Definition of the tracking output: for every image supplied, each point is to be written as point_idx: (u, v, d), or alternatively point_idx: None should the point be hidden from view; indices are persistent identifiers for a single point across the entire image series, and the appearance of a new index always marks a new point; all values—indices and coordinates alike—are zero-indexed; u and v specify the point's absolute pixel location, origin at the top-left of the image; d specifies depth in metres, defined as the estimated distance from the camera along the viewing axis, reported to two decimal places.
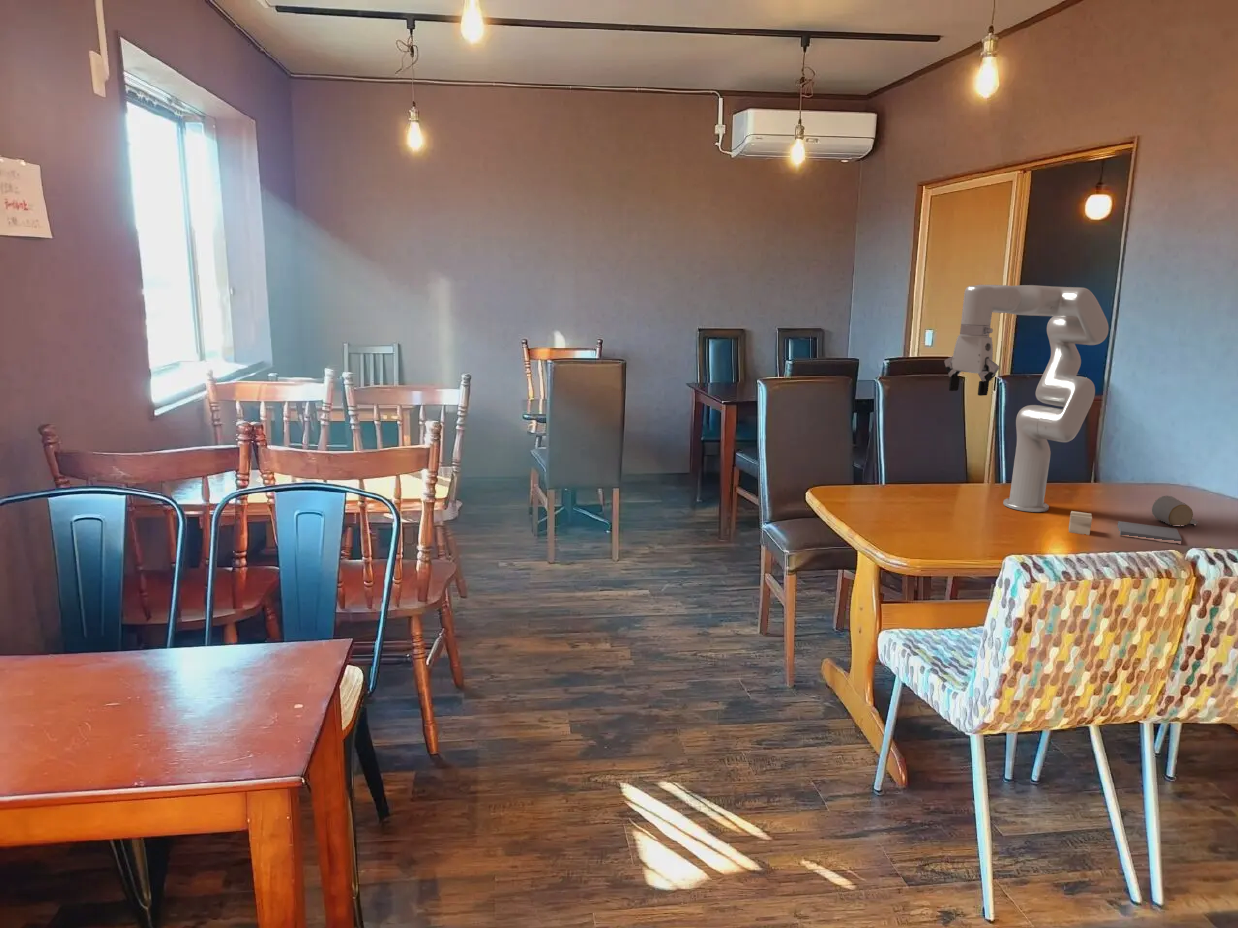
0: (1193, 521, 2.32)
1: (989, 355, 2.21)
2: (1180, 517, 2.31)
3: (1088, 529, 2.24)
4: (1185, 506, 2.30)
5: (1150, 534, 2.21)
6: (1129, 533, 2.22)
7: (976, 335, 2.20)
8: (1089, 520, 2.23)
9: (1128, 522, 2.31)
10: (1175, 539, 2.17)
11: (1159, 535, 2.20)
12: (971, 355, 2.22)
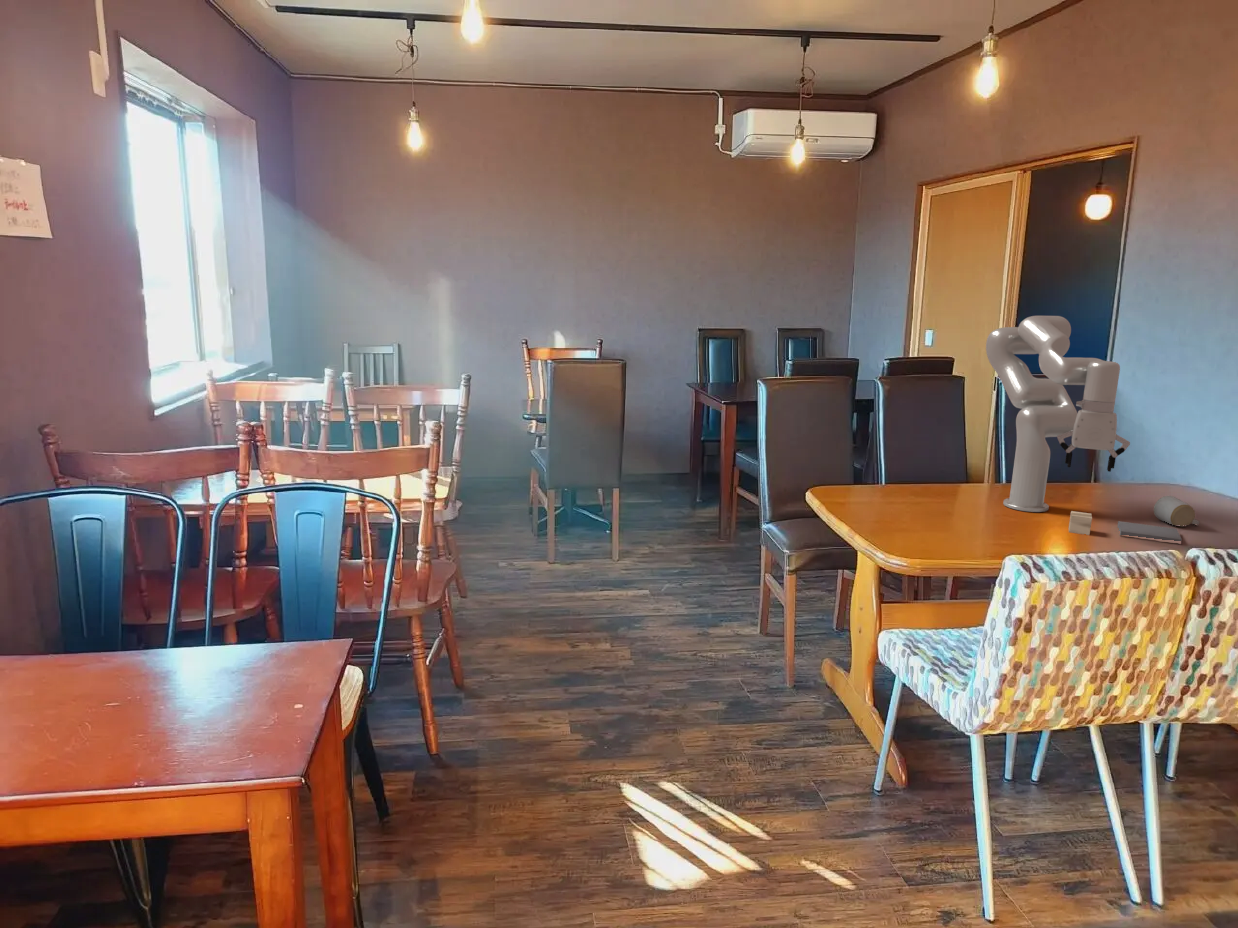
0: (1195, 521, 2.32)
1: (1073, 428, 2.22)
2: (1182, 517, 2.31)
3: (1088, 529, 2.24)
4: (1187, 506, 2.30)
5: (1150, 534, 2.21)
6: (1129, 533, 2.22)
7: None
8: (1089, 520, 2.23)
9: (1128, 522, 2.31)
10: (1175, 539, 2.17)
11: (1159, 535, 2.20)
12: None
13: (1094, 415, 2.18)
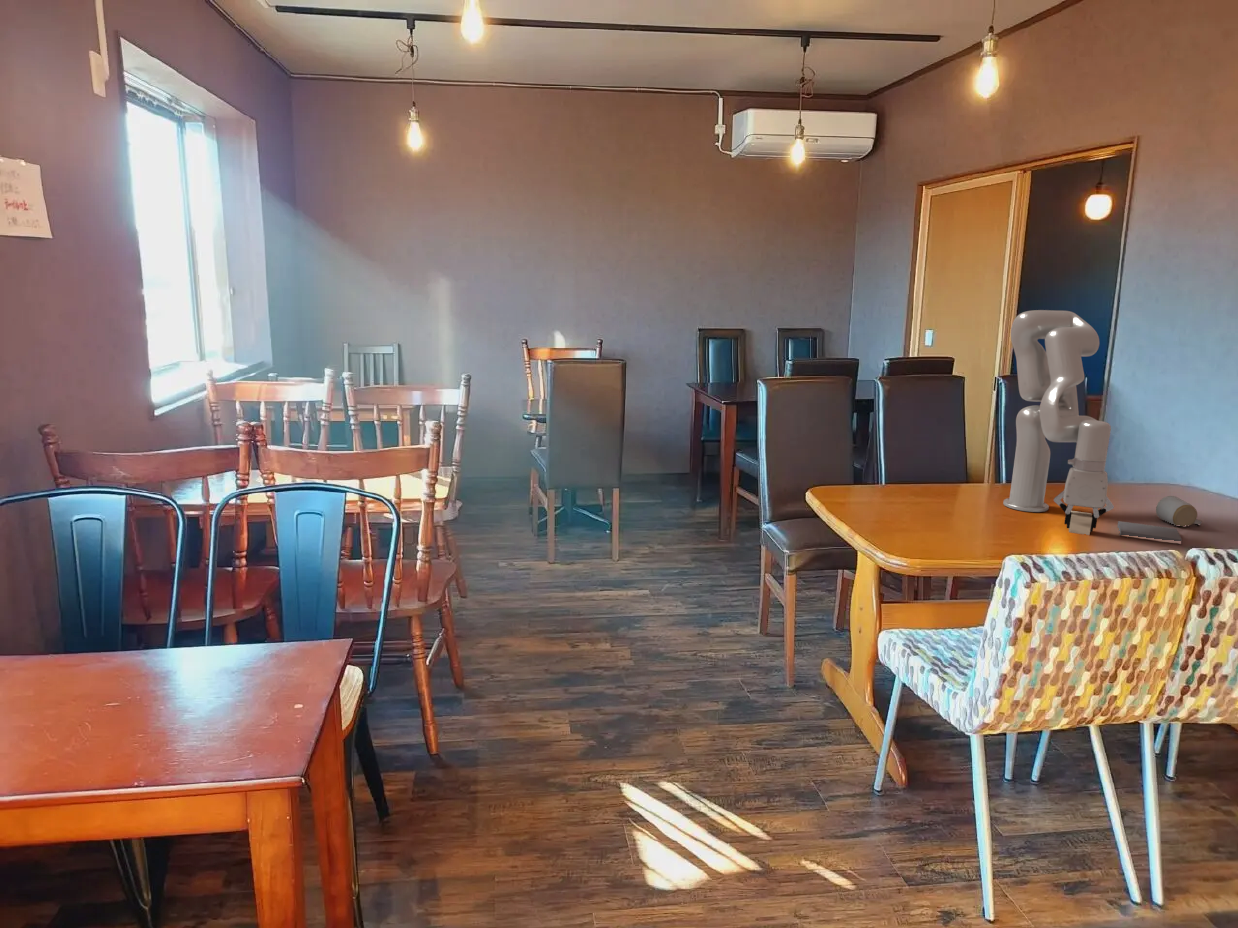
0: (1197, 521, 2.32)
1: (1065, 485, 2.26)
2: (1185, 517, 2.31)
3: (1088, 529, 2.24)
4: (1189, 506, 2.30)
5: (1150, 534, 2.21)
6: (1129, 533, 2.22)
7: None
8: (1089, 520, 2.23)
9: (1128, 522, 2.31)
10: (1175, 539, 2.17)
11: (1159, 535, 2.20)
12: None
13: (1085, 474, 2.21)
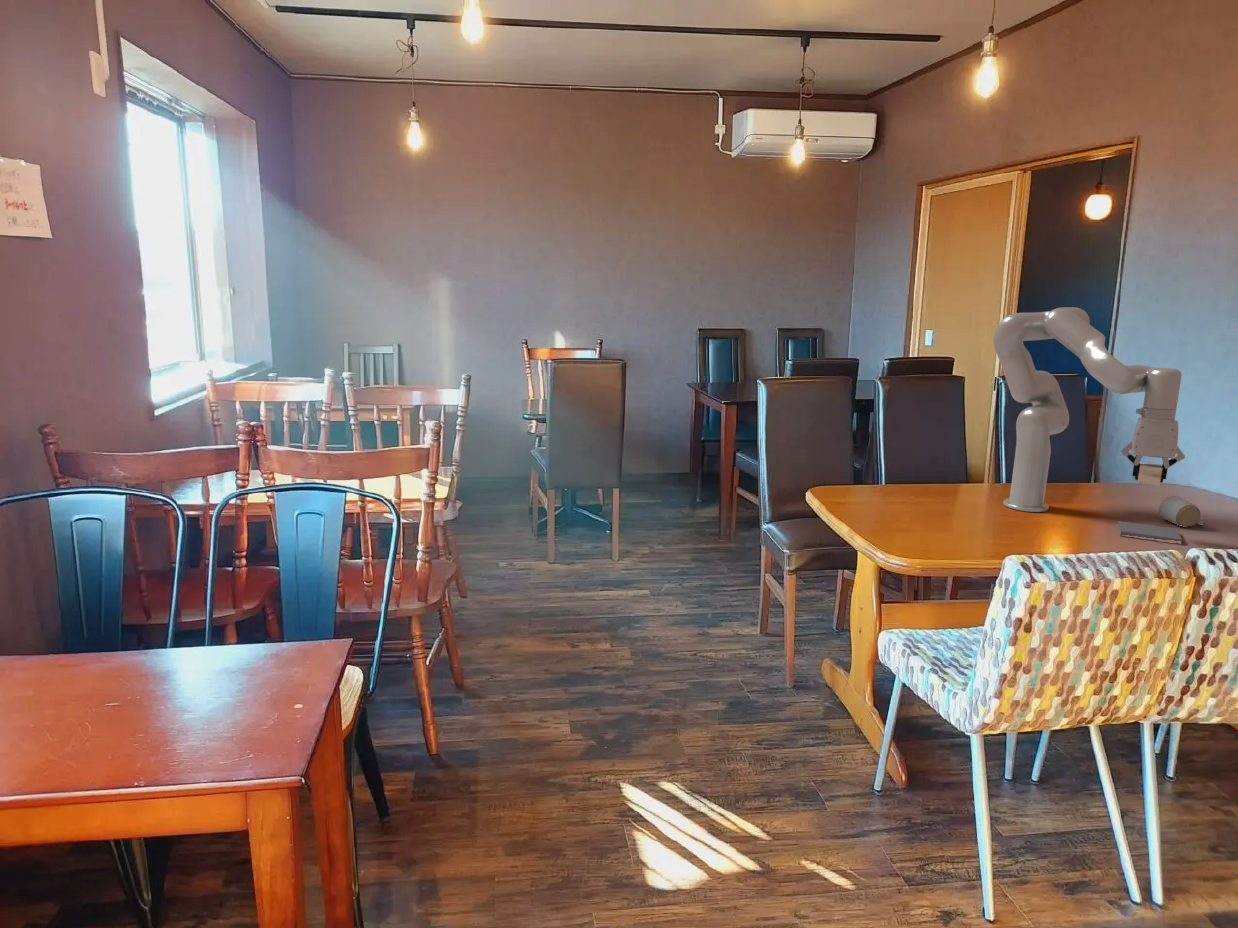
0: (1200, 521, 2.32)
1: (1133, 435, 2.20)
2: (1188, 517, 2.31)
3: (1158, 480, 2.18)
4: (1192, 506, 2.30)
5: (1150, 534, 2.21)
6: (1129, 533, 2.22)
7: None
8: (1159, 471, 2.17)
9: (1128, 522, 2.31)
10: (1175, 539, 2.17)
11: (1159, 535, 2.20)
12: None
13: (1155, 423, 2.16)
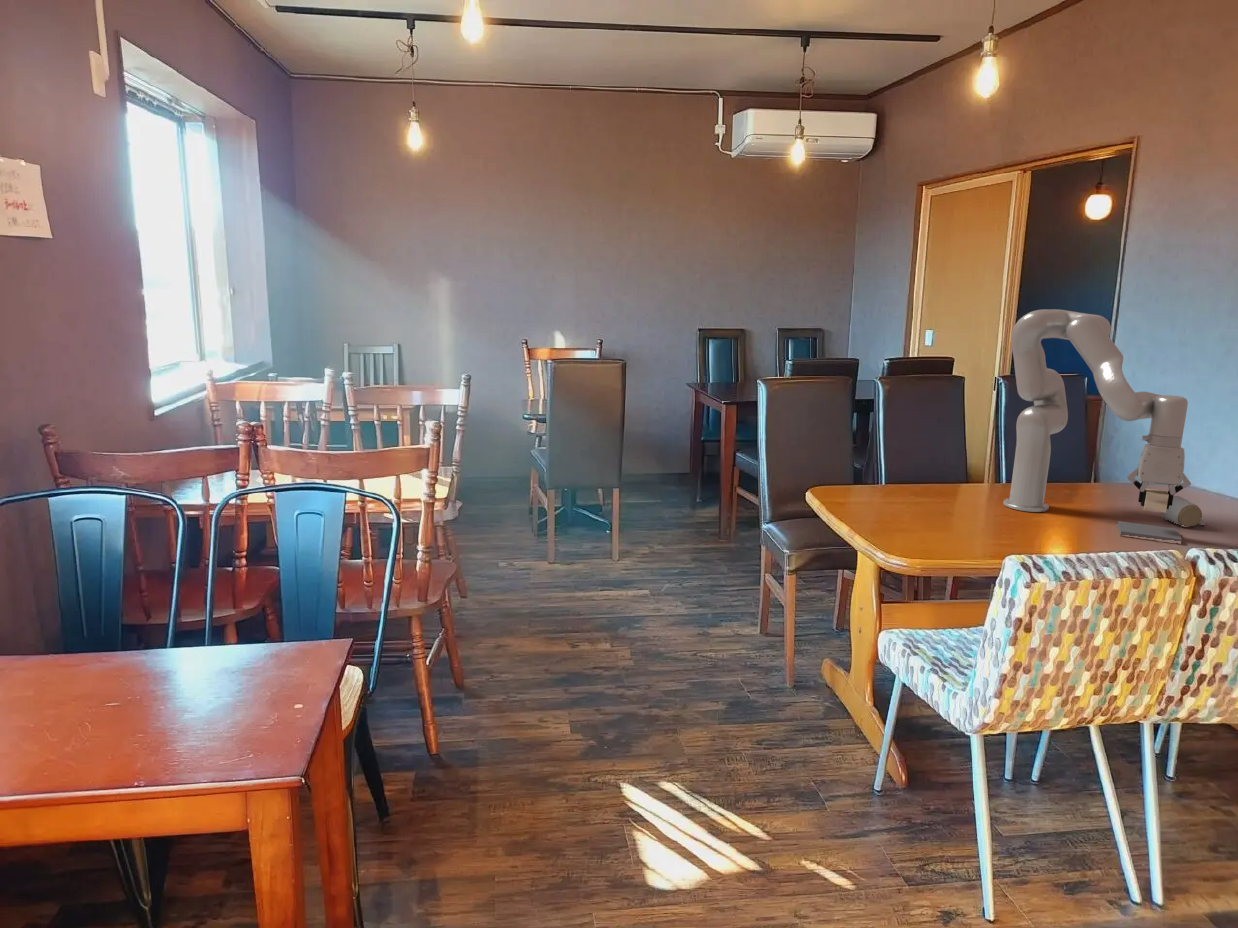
0: (1202, 521, 2.32)
1: (1139, 462, 2.22)
2: (1189, 517, 2.31)
3: (1164, 506, 2.19)
4: (1194, 506, 2.30)
5: (1150, 534, 2.21)
6: (1129, 533, 2.22)
7: None
8: (1166, 497, 2.19)
9: (1128, 522, 2.31)
10: (1175, 539, 2.17)
11: (1159, 535, 2.20)
12: None
13: (1161, 450, 2.17)
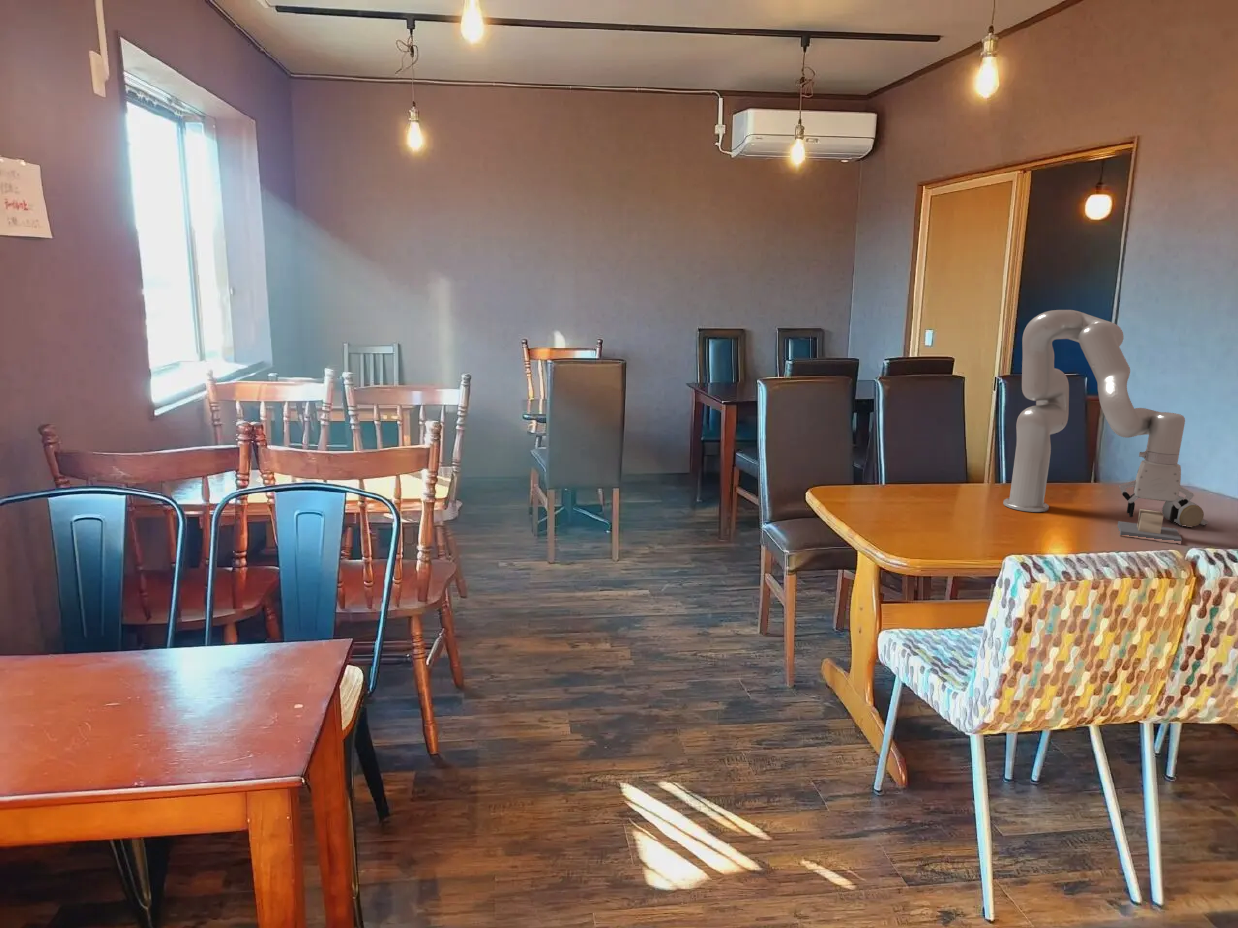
0: (1204, 521, 2.32)
1: (1136, 478, 2.23)
2: (1191, 518, 2.31)
3: (1159, 527, 2.21)
4: (1196, 506, 2.30)
5: (1150, 534, 2.21)
6: (1129, 533, 2.22)
7: None
8: (1160, 519, 2.21)
9: (1128, 522, 2.31)
10: (1175, 539, 2.17)
11: (1159, 535, 2.20)
12: None
13: (1158, 467, 2.18)
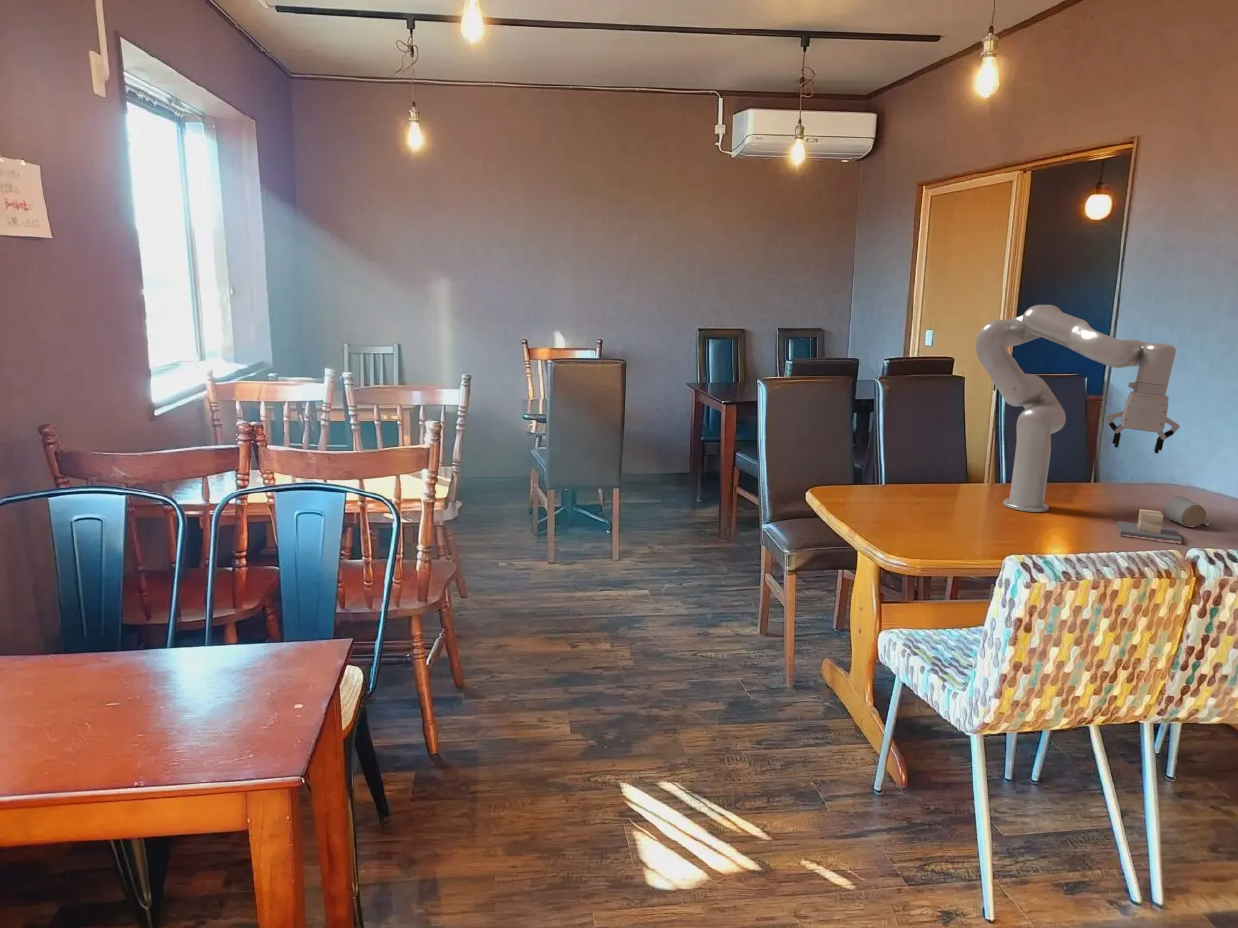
0: (1206, 521, 2.32)
1: (1124, 408, 2.25)
2: (1194, 518, 2.31)
3: (1159, 527, 2.21)
4: (1198, 506, 2.30)
5: (1150, 534, 2.21)
6: (1129, 533, 2.22)
7: None
8: (1160, 519, 2.21)
9: (1128, 522, 2.31)
10: (1175, 539, 2.17)
11: (1159, 535, 2.20)
12: None
13: (1146, 397, 2.20)
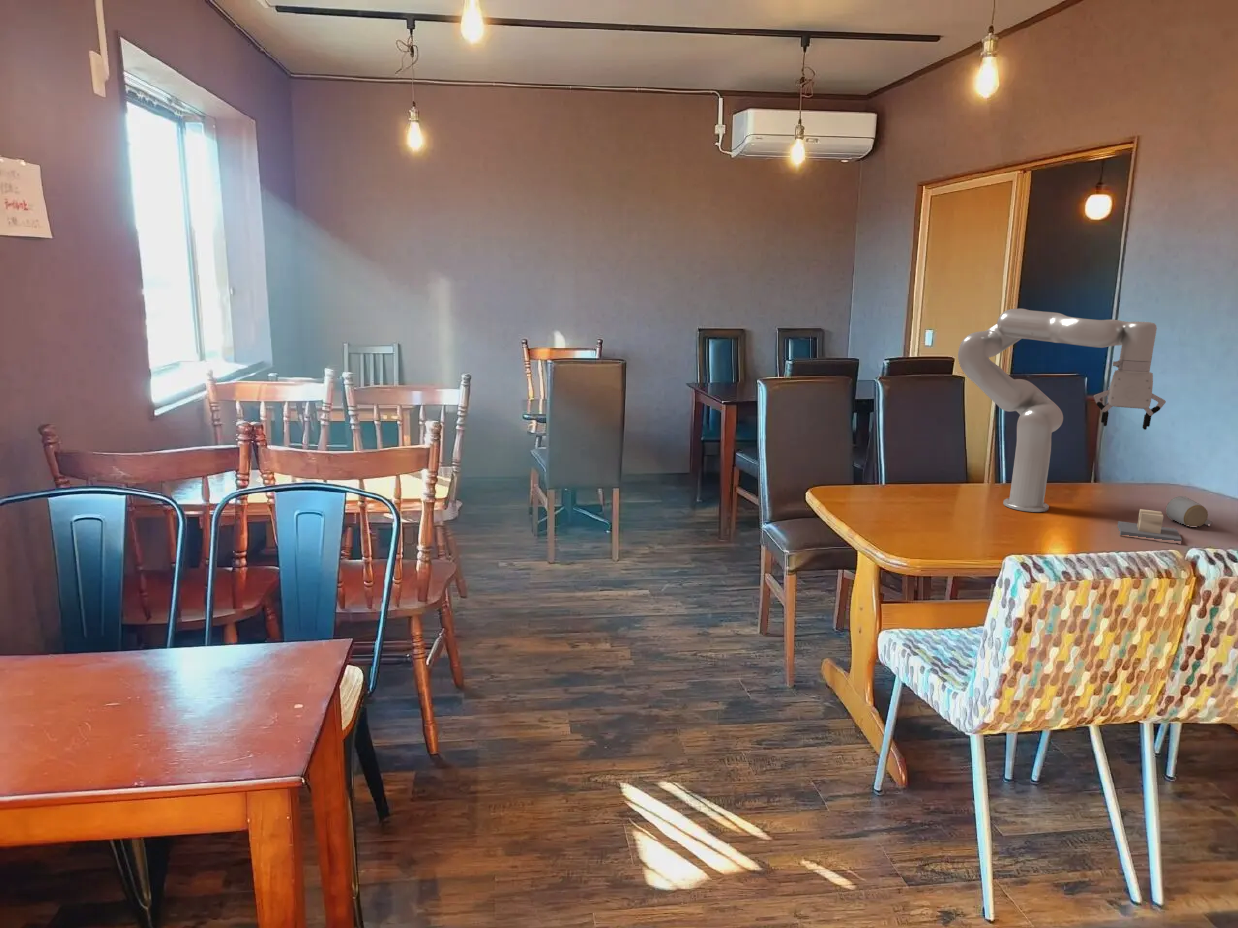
0: (1208, 521, 2.32)
1: (1110, 387, 2.28)
2: (1195, 518, 2.31)
3: (1159, 527, 2.21)
4: (1200, 506, 2.30)
5: (1150, 534, 2.21)
6: (1129, 533, 2.22)
7: None
8: (1160, 519, 2.21)
9: (1128, 522, 2.31)
10: (1175, 539, 2.17)
11: (1159, 535, 2.20)
12: None
13: (1131, 374, 2.24)
